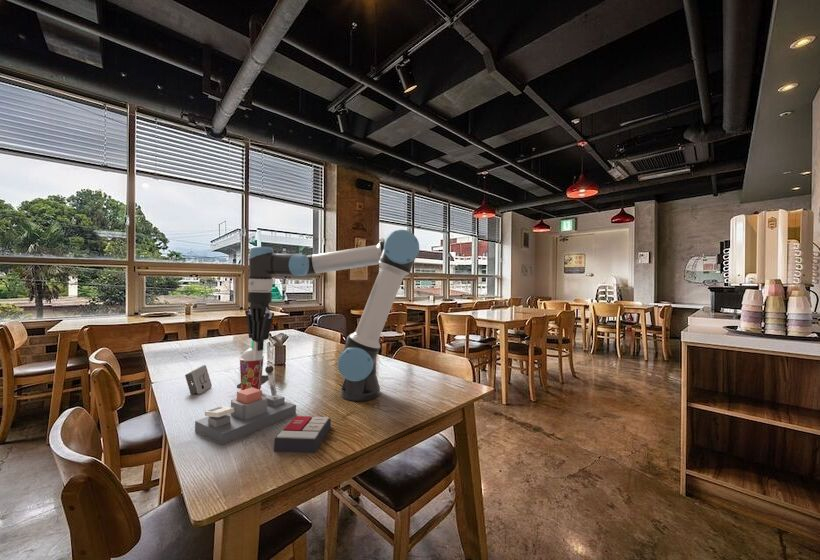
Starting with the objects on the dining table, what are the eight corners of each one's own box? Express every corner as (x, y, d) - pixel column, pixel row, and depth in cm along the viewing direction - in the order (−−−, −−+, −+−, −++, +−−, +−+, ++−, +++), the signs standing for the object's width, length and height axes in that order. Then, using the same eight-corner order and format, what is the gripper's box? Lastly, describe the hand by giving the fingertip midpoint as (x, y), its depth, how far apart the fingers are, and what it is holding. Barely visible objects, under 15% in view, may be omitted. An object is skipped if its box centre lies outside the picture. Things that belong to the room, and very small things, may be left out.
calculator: (331, 415, 99) (316, 436, 84) (330, 430, 99) (315, 454, 84) (295, 414, 99) (274, 435, 84) (294, 428, 99) (273, 452, 84)
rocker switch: (220, 410, 96) (220, 406, 96) (234, 411, 93) (233, 407, 93) (204, 415, 92) (204, 411, 92) (218, 417, 89) (218, 412, 89)
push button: (251, 399, 104) (252, 387, 104) (261, 403, 101) (261, 390, 101) (236, 404, 99) (236, 391, 99) (246, 408, 97) (246, 395, 97)
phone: (235, 386, 131) (254, 375, 146) (235, 388, 131) (254, 377, 146) (255, 386, 131) (271, 375, 146) (255, 389, 131) (271, 378, 146)
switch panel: (268, 404, 114) (269, 384, 114) (295, 414, 107) (296, 392, 107) (194, 431, 93) (195, 407, 93) (222, 445, 86) (223, 418, 86)
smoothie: (267, 389, 129) (268, 339, 129) (255, 397, 121) (256, 343, 121) (247, 388, 130) (248, 338, 130) (233, 396, 122) (235, 342, 122)
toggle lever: (275, 395, 110) (269, 365, 111) (280, 394, 108) (274, 364, 110) (268, 397, 107) (262, 367, 109) (273, 396, 106) (267, 365, 108)
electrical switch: (200, 395, 122) (198, 370, 122) (185, 396, 121) (183, 372, 121) (212, 387, 131) (210, 364, 131) (198, 388, 130) (196, 365, 130)
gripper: (238, 290, 113) (236, 358, 113) (262, 292, 106) (259, 364, 106) (258, 290, 119) (256, 354, 119) (281, 292, 112) (279, 360, 112)
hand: (257, 359), depth 113 cm, fingers closed
